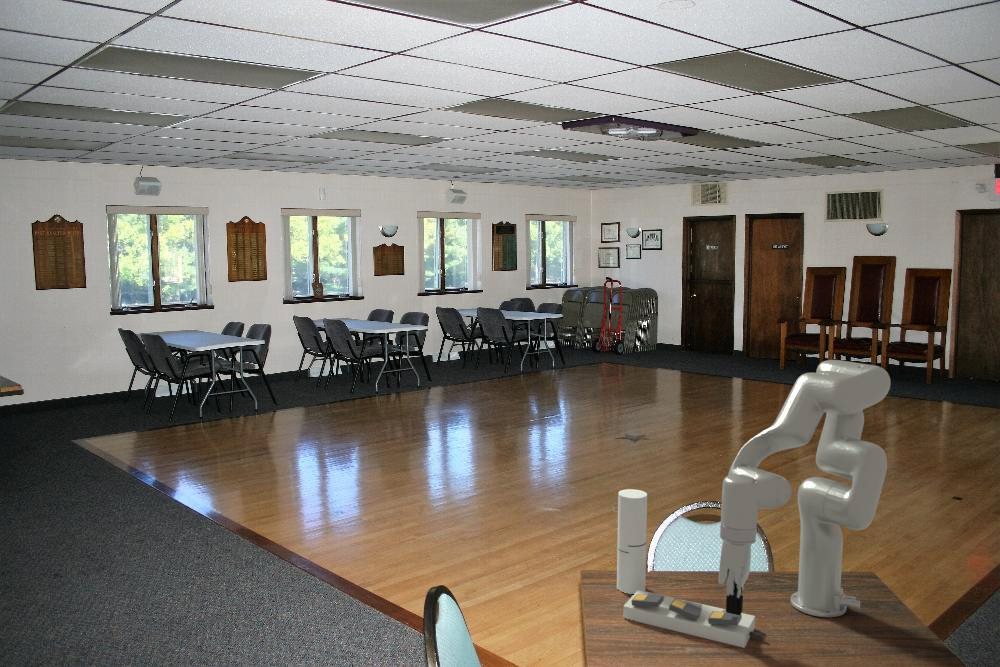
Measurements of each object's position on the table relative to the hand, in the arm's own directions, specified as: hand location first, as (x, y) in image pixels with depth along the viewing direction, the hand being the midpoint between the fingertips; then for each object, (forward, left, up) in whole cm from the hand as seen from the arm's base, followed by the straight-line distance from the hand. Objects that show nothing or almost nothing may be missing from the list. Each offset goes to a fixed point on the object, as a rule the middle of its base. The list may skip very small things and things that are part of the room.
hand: (733, 612), depth 177 cm
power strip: (+10, -3, -7) cm, 12 cm away
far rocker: (+20, 0, -2) cm, 20 cm away
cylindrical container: (+29, -14, -7) cm, 33 cm away
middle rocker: (+11, 0, -2) cm, 11 cm away
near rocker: (+2, 0, -2) cm, 3 cm away
